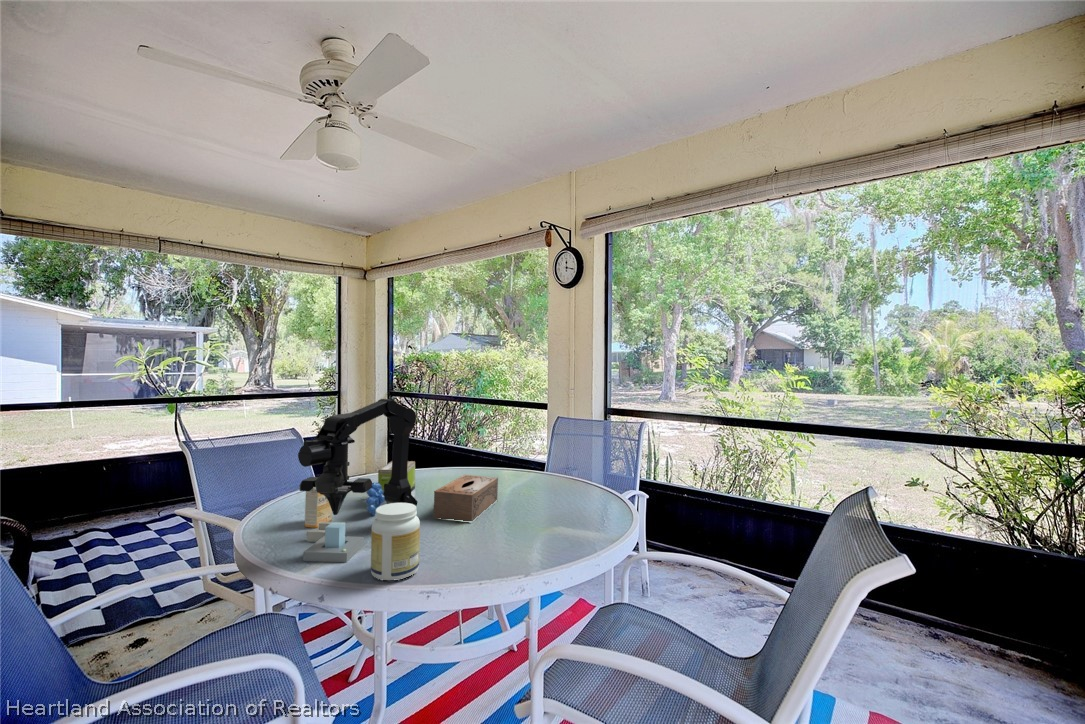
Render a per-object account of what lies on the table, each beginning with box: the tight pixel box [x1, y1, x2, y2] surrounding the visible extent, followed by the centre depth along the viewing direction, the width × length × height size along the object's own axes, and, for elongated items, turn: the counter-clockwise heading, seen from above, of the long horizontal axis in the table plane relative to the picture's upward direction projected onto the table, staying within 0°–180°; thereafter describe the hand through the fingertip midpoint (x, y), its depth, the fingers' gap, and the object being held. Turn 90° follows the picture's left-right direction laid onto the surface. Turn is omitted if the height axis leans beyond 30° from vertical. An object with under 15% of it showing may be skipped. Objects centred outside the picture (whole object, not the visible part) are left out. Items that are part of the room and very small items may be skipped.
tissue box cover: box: [433, 474, 499, 521], centre depth 177 cm, size 26×14×10 cm, turn 165°
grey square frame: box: [306, 521, 347, 543], centre depth 147 cm, size 8×9×3 cm
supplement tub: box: [370, 503, 421, 581], centre depth 124 cm, size 12×12×17 cm
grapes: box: [365, 482, 385, 516], centre depth 168 cm, size 12×7×12 cm, turn 178°
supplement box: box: [304, 487, 333, 529], centre depth 159 cm, size 8×5×13 cm, turn 168°
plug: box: [325, 523, 346, 548], centre depth 135 cm, size 4×4×8 cm
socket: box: [302, 535, 365, 563], centre depth 135 cm, size 12×12×3 cm
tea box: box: [377, 460, 416, 506], centre depth 184 cm, size 15×10×15 cm
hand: (335, 514), depth 135 cm, fingers closed
